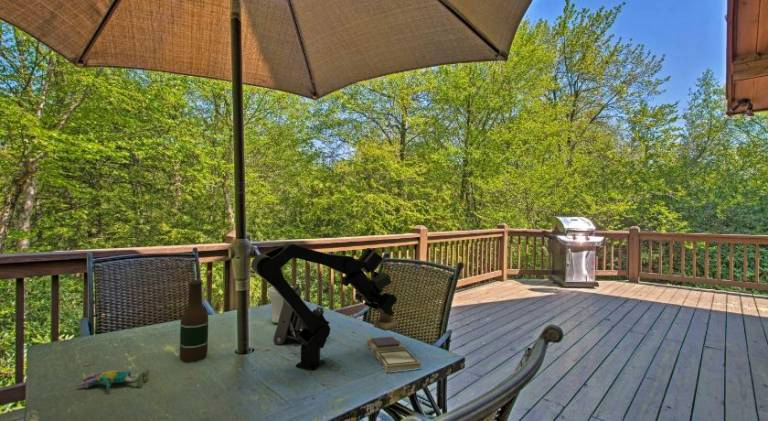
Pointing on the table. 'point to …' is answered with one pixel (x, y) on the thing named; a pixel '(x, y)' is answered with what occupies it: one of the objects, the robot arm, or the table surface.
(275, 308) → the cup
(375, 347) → the board
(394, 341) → the ink pad
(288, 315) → the camera
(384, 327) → the stamp
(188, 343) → the beer bottle
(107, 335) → the table surface
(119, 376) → the toy
